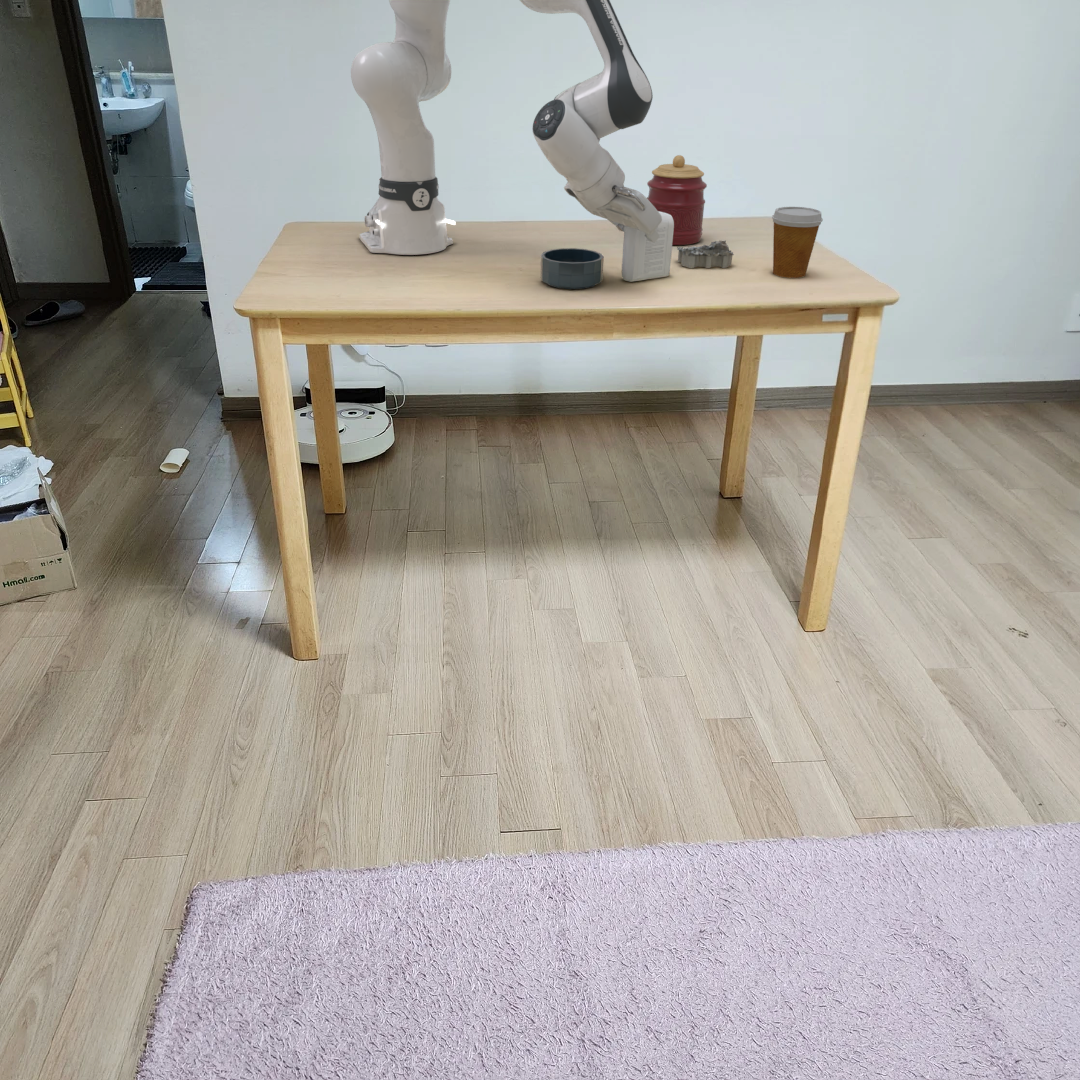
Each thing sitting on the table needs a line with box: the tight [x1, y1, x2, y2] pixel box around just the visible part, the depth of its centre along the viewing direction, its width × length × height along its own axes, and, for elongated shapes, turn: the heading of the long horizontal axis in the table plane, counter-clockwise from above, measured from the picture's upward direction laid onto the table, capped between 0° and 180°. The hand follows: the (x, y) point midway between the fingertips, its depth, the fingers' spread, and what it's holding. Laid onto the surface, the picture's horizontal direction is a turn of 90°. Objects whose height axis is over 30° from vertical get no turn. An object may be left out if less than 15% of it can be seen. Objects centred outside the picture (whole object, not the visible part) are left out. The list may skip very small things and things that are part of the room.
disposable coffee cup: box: [771, 206, 824, 279], centre depth 182 cm, size 10×10×12 cm
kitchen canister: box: [646, 154, 708, 246], centre depth 206 cm, size 13×13×18 cm
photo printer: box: [621, 211, 674, 283], centre depth 178 cm, size 10×4×12 cm, turn 123°
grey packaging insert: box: [676, 240, 735, 269], centre depth 190 cm, size 11×8×4 cm
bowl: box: [540, 247, 605, 290], centre depth 176 cm, size 12×12×5 cm
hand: (639, 233), depth 176 cm, fingers open, 8 cm apart
